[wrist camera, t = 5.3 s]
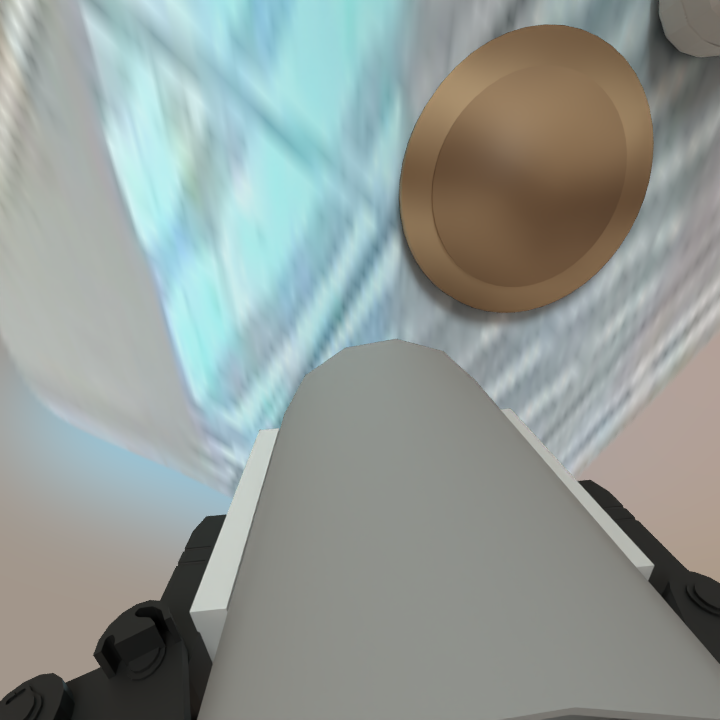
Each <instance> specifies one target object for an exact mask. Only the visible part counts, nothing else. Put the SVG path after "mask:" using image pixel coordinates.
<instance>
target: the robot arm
mask: <svg viewBox="0 0 720 720" xmlns="http://www.w3.org/2000/svg"><path fill="white" fill-rule="evenodd" d="M500 410H501V411H502V412H503V413H504V414H505V415H506V417H507V418H508V419H509V420H510V421H511V422H512V424H513V425H514V426H515V427H516V428H517V429H518V431H519V432H520V433H521V434H522V435H523V436H524V438H525V439H526V440H527V441H528V442H529V443H530V445H531V446H532V447H533V448H534V449H535V450H536V451H537V453H538V454H539V455H540V456H541V457H542V458H543V460H544V461H545V462H546V463H547V464H548V465H549V467H550V468H551V469H552V470H553V471H554V472H555V474H556V475H557V476H558V477H559V478H560V479H561V480H562V482H563V483H564V484H565V485H566V486H567V487H568V489H569V490H570V491H571V492H572V493H573V494H574V496H575V497H576V498H577V499H578V500H579V501H580V503H581V504H582V505H583V506H584V507H585V508H586V510H587V511H588V512H589V513H590V514H591V515H592V516H593V518H594V519H595V520H596V521H597V522H598V523H599V525H600V526H601V527H602V528H603V529H604V530H605V532H606V533H607V534H608V535H609V536H610V537H611V539H612V540H613V541H614V542H615V543H616V544H617V546H618V547H619V548H620V549H621V550H622V551H623V552H624V554H625V555H626V556H627V557H628V558H629V559H630V561H631V562H632V563H633V564H634V565H635V566H636V568H637V569H638V570H639V571H640V572H641V573H642V575H643V576H644V577H645V578H646V579H647V580H648V582H649V583H650V584H651V585H652V586H653V587H654V588H655V590H656V591H657V592H658V593H659V594H660V595H661V597H662V598H663V599H664V600H665V601H666V602H667V604H668V605H669V606H670V607H671V608H672V609H673V611H674V612H675V613H676V614H677V615H678V616H679V618H680V619H681V620H682V621H683V622H684V623H685V624H686V626H687V627H688V628H689V629H690V630H691V631H692V633H693V634H694V635H695V636H696V637H697V638H698V640H699V641H700V642H701V643H702V644H703V645H704V647H705V648H706V649H707V650H708V651H709V652H710V653H711V655H712V656H713V657H714V658H715V659H716V660H717V662H718V663H719V664H720V583H718V582H717V581H715V580H713V579H711V578H709V577H707V576H704V575H701V574H698V573H696V572H690V571H689V570H687V569H686V568H685V567H684V566H683V565H682V564H681V563H680V562H679V561H678V560H677V559H676V558H675V557H674V556H673V555H672V554H671V553H670V552H669V551H668V550H667V549H666V548H665V547H664V546H663V545H662V544H661V543H660V542H659V541H658V540H657V539H656V538H655V537H654V536H653V535H652V534H651V533H650V532H649V531H648V530H647V529H646V528H645V527H644V526H643V525H642V524H641V523H640V522H639V521H636V520H635V517H634V516H633V515H632V514H631V513H630V512H629V511H628V510H627V509H624V508H623V505H622V504H621V503H620V502H619V501H618V500H617V499H616V498H615V497H614V496H613V495H612V494H611V493H610V492H609V491H607V490H606V489H604V488H602V487H601V486H599V485H598V484H596V483H594V482H593V481H591V480H584V481H577V480H576V479H575V478H574V477H573V476H572V475H571V474H570V473H569V472H568V471H567V470H566V469H565V467H564V466H563V465H562V464H561V463H560V462H559V461H558V460H557V459H556V458H555V457H554V455H553V454H552V453H551V452H550V451H549V450H548V449H547V448H546V447H545V446H544V445H543V443H542V442H541V441H540V440H539V439H538V438H537V437H536V436H535V435H534V434H533V433H532V432H531V430H530V429H529V428H528V427H527V426H526V425H525V424H524V423H523V422H522V421H521V420H520V418H519V417H518V416H517V415H516V414H515V413H514V412H513V411H512V410H511V409H500ZM278 435H279V428H277V429H266V430H259V433H258V435H257V438H256V440H255V443H254V446H253V448H252V451H251V453H250V456H249V459H248V461H247V464H246V466H245V469H244V472H243V474H242V477H241V479H240V482H239V485H238V487H237V490H236V492H235V495H234V498H233V500H232V503H231V506H230V508H229V511H228V513H227V515H217V516H207V517H206V518H205V519H204V520H203V521H202V522H201V523H200V524H199V525H198V526H197V527H196V529H195V530H194V531H193V532H192V534H191V537H190V539H189V541H188V543H187V545H186V547H185V551H184V552H183V553H182V555H181V558H180V560H179V562H178V566H176V568H175V570H174V572H173V575H172V577H171V579H170V581H169V583H168V585H167V587H166V589H165V592H164V593H163V596H162V598H161V600H160V601H154V600H149V601H146V602H143V603H139V604H136V605H135V606H133V607H132V608H130V609H128V610H127V611H125V612H123V613H122V614H121V615H120V616H119V617H118V618H117V619H116V620H115V621H114V622H112V623H111V624H110V625H109V626H108V628H107V629H106V631H105V632H104V634H103V635H102V636H101V638H100V639H99V641H98V644H97V646H96V650H95V652H94V655H93V656H94V657H95V659H96V660H97V662H98V663H99V665H100V668H98V669H96V670H93V671H91V672H89V673H87V674H85V675H82V676H80V677H78V678H76V679H73V680H71V681H68V682H66V683H65V682H64V681H63V679H62V678H61V677H59V676H57V675H56V674H54V673H51V674H42V675H39V676H36V677H34V678H32V679H30V680H28V681H26V682H24V683H22V684H21V685H20V686H18V687H17V688H16V689H14V690H13V691H12V692H10V693H9V694H7V695H6V696H5V697H4V698H3V699H2V700H1V701H0V720H197V718H198V714H199V711H200V707H201V704H202V700H203V697H204V693H205V690H206V686H207V683H208V679H209V676H210V672H211V669H212V665H213V662H214V658H215V655H216V651H217V648H218V644H219V641H220V638H221V634H222V631H223V627H224V624H225V620H226V617H227V613H228V610H229V606H230V603H231V599H232V596H233V592H234V589H235V585H236V582H237V578H238V575H239V571H240V568H241V564H242V561H243V557H244V554H245V550H246V547H247V543H248V540H249V536H250V533H251V529H252V526H253V522H254V519H255V515H256V512H257V508H258V505H259V501H260V498H261V494H262V491H263V487H264V484H265V480H266V477H267V473H268V470H269V466H270V463H271V459H272V456H273V452H274V449H275V445H276V442H277V438H278Z"/></svg>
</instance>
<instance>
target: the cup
mask: <svg viewBox="0 0 720 720" xmlns="http://www.w3.org/2000/svg"><path fill="white" fill-rule="evenodd" d="M197 720H720V664H719V663H718V662H717V660H716V659H715V658H714V657H713V656H712V655H711V653H710V652H709V651H708V650H707V649H706V648H705V647H704V645H703V644H702V643H701V642H700V641H699V640H698V638H697V637H696V636H695V635H694V634H693V633H692V631H691V630H690V629H689V628H688V627H687V626H686V624H685V623H684V622H683V621H682V620H681V619H680V618H679V616H678V615H677V614H676V613H675V612H674V611H673V609H672V608H671V607H670V606H669V605H668V604H667V602H666V601H665V600H664V599H663V598H662V597H661V595H660V594H659V593H658V592H657V591H656V590H655V588H654V587H653V586H652V585H651V584H650V583H649V582H648V580H647V579H646V578H645V577H644V576H643V575H642V573H641V572H640V571H639V570H638V569H637V568H636V566H635V565H634V564H633V563H632V562H631V561H630V559H629V558H628V557H627V556H626V555H625V554H624V552H623V551H622V550H621V549H620V548H619V547H618V546H617V544H616V543H615V542H614V541H613V540H612V539H611V537H610V536H609V535H608V534H607V533H606V532H605V530H604V529H603V528H602V527H601V526H600V525H599V523H598V522H597V521H596V520H595V519H594V518H593V516H592V515H591V514H590V513H589V512H588V511H587V510H586V508H585V507H584V506H583V505H582V504H581V503H580V501H579V500H578V499H577V498H576V497H575V496H574V494H573V493H572V492H571V491H570V490H569V489H568V487H567V486H566V485H565V484H564V483H563V482H562V480H561V479H560V478H559V477H558V476H557V475H556V474H555V472H554V471H553V470H552V469H551V468H550V467H549V465H548V464H547V463H546V462H545V461H544V460H543V458H542V457H541V456H540V455H539V454H538V453H537V451H536V450H535V449H534V448H533V447H532V446H531V445H530V443H529V442H528V441H527V440H526V439H525V438H524V436H523V435H522V434H521V433H520V432H519V431H518V429H517V428H516V427H515V426H514V425H513V424H512V422H511V421H510V420H509V419H508V418H507V417H506V415H505V414H504V413H503V412H502V411H501V410H500V409H499V407H498V406H497V405H496V404H495V403H494V402H493V400H492V399H491V398H490V397H489V396H488V395H487V393H486V392H485V391H484V390H483V389H482V388H481V386H480V385H479V384H478V383H477V382H476V381H475V380H474V379H473V378H472V377H471V376H470V375H469V374H468V373H467V372H466V371H464V370H463V369H462V368H461V367H460V366H459V365H458V364H457V363H456V362H455V361H453V360H452V359H451V358H450V357H449V356H448V355H447V354H446V353H445V352H443V351H441V350H437V349H433V348H429V347H425V346H421V345H418V344H414V343H410V342H406V341H402V340H398V339H392V340H387V341H381V342H375V343H370V344H364V345H359V346H353V347H347V348H344V349H343V350H342V351H340V352H339V353H337V354H336V355H334V356H333V357H331V358H330V359H329V360H327V361H326V362H324V363H323V364H321V365H320V366H318V367H317V368H316V369H314V370H313V371H311V372H310V373H308V374H307V375H305V377H304V379H303V381H302V382H301V384H300V386H299V388H298V390H297V392H296V394H295V395H294V397H293V399H292V401H291V403H290V405H289V407H288V408H287V410H286V412H285V414H284V417H283V421H282V424H281V428H280V431H279V435H278V438H277V442H276V445H275V449H274V452H273V456H272V459H271V463H270V466H269V470H268V473H267V477H266V480H265V484H264V487H263V491H262V494H261V498H260V501H259V505H258V508H257V512H256V515H255V519H254V522H253V526H252V529H251V533H250V536H249V540H248V543H247V547H246V550H245V554H244V557H243V561H242V564H241V568H240V571H239V575H238V578H237V582H236V585H235V589H234V592H233V596H232V599H231V603H230V606H229V610H228V613H227V617H226V620H225V624H224V627H223V631H222V634H221V638H220V641H219V644H218V648H217V651H216V655H215V658H214V662H213V665H212V669H211V672H210V676H209V679H208V683H207V686H206V690H205V693H204V697H203V700H202V704H201V707H200V711H199V714H198V718H197Z"/></svg>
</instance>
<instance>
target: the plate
mask: <svg viewBox="0 0 720 720" xmlns="http://www.w3.org/2000/svg"><path fill="white" fill-rule="evenodd" d="M653 144H654V143H653V125H652V119H651V114H650V109H649V105H648V102H647V98H646V95H645V92H644V89H643V87H642V85H641V83H640V81H639V79H638V77H637V75H636V73H635V72H634V70H633V69H632V68H631V66H630V65H629V64H628V62H627V61H626V59H625V58H624V57H623V56H622V55H621V54H620V53H619V52H618V51H617V50H616V49H615V48H614V47H613V46H611V45H610V44H608V43H607V42H605V41H604V40H602V39H601V38H599V37H598V36H596V35H594V34H591V33H589V32H587V31H584V30H582V29H578V28H574V27H569V26H565V25H538V26H530V27H525V28H521V29H518V30H515V31H512V32H508V33H506V34H504V35H502V36H500V37H498V38H495V39H493V40H491V41H489V42H488V43H486V44H485V45H483V46H482V47H480V48H479V49H477V50H476V51H474V52H473V53H471V54H470V55H469V56H468V57H467V58H466V59H464V60H463V61H462V62H461V63H460V64H459V65H458V66H456V67H455V68H454V70H453V71H452V72H451V73H450V74H449V75H448V76H447V77H446V79H445V80H444V81H443V82H442V83H441V85H440V86H439V87H438V89H437V90H436V92H435V93H434V94H433V96H432V97H431V99H430V100H429V102H428V103H427V105H426V106H425V107H424V109H423V111H422V113H421V115H420V117H419V119H418V121H417V122H416V124H415V127H414V129H413V132H412V134H411V137H410V139H409V142H408V144H407V148H406V152H405V155H404V159H403V163H402V170H401V176H400V189H399V203H400V216H401V221H402V226H403V231H404V234H405V237H406V240H407V243H408V246H409V248H410V250H411V252H412V255H413V257H414V259H415V261H416V262H417V264H418V265H419V267H420V268H421V270H422V271H423V273H424V274H425V275H426V276H427V277H428V278H429V279H430V280H431V282H432V283H433V284H435V285H436V286H437V287H438V288H439V289H441V290H442V291H443V292H444V293H446V294H448V295H449V296H451V297H452V298H454V299H456V300H457V301H459V302H461V303H464V304H466V305H468V306H471V307H473V308H477V309H481V310H484V311H491V312H499V313H508V312H520V311H527V310H531V309H535V308H539V307H542V306H545V305H547V304H550V303H552V302H555V301H557V300H559V299H561V298H563V297H564V296H566V295H568V294H570V293H572V292H573V291H574V290H576V289H577V288H579V287H580V286H582V285H583V284H584V283H586V282H587V281H588V280H589V279H590V278H592V277H593V276H594V275H595V274H596V273H597V272H598V271H599V270H600V269H601V268H602V267H603V266H604V265H605V264H606V263H607V262H608V261H609V259H610V258H611V257H612V256H613V254H614V253H615V252H616V251H617V249H618V248H619V247H620V245H621V244H622V242H623V241H624V239H625V237H626V236H627V234H628V233H629V231H630V229H631V227H632V225H633V223H634V221H635V219H636V217H637V215H638V213H639V210H640V208H641V205H642V203H643V200H644V197H645V194H646V190H647V187H648V183H649V179H650V173H651V167H652V160H653Z"/></svg>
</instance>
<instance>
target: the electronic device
mask: <svg viewBox="0 0 720 720" xmlns="http://www.w3.org/2000/svg"><path fill="white" fill-rule="evenodd" d="M659 17H660V20H661V23H662V27H663V30H664V33H665V37H666V38H667V39H668V40H669V41H670V42H671V43H672V44H673V45H674V46H675V47H676V48H677V49H678V50H679V51H680V52H683V53H686V54H689V55H692V56H695V57H699V58H700V57H711V56H720V0H659Z"/></svg>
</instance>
